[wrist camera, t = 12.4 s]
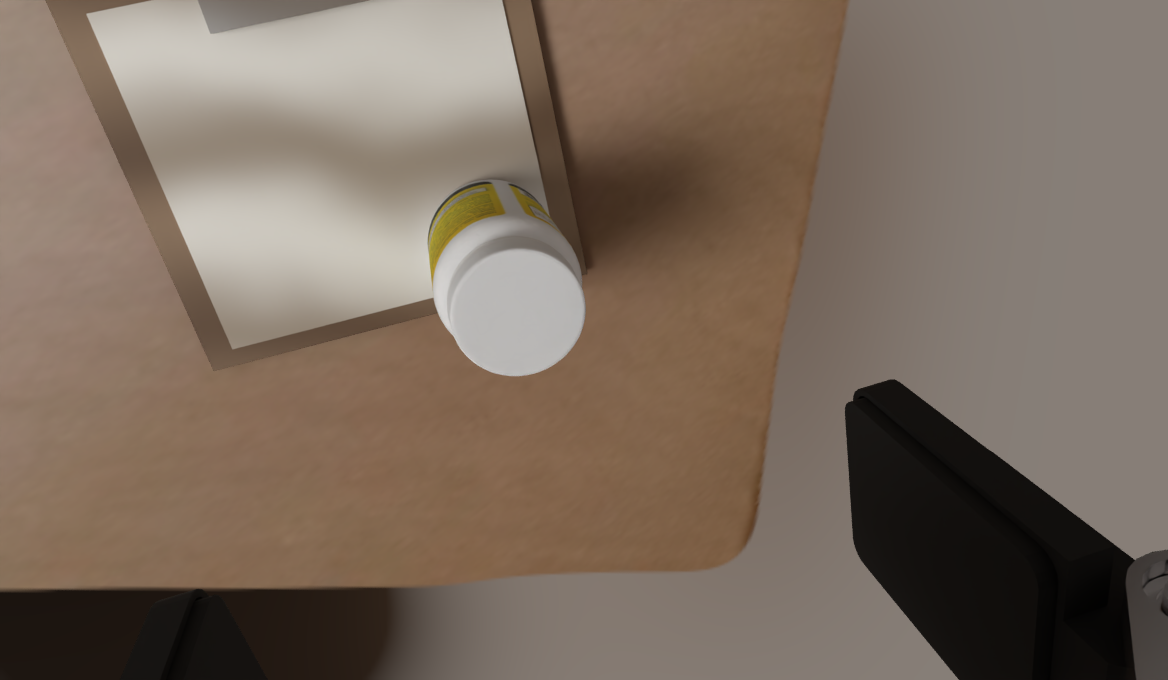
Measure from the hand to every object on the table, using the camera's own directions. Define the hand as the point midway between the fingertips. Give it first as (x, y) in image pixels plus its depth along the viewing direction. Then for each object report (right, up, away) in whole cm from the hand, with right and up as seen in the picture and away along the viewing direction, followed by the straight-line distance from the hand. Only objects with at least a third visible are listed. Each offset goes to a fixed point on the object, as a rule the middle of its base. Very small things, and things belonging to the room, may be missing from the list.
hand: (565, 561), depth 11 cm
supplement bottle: (-3, +7, +19) cm, 20 cm away
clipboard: (-8, +10, +16) cm, 21 cm away
